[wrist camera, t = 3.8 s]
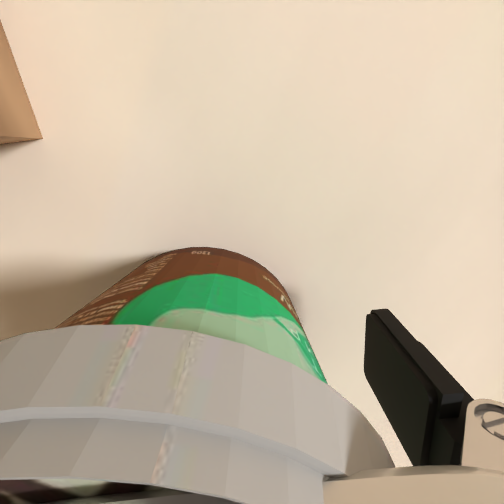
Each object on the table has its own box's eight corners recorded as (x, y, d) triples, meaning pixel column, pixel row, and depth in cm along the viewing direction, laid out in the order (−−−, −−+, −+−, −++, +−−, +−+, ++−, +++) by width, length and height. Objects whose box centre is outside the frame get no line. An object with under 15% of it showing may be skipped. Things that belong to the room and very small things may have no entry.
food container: (356, 362, 15) (533, 703, 6) (260, 406, 16) (281, 757, 7) (238, 163, 11) (202, 221, 2) (123, 237, 12) (-252, 501, 3)
